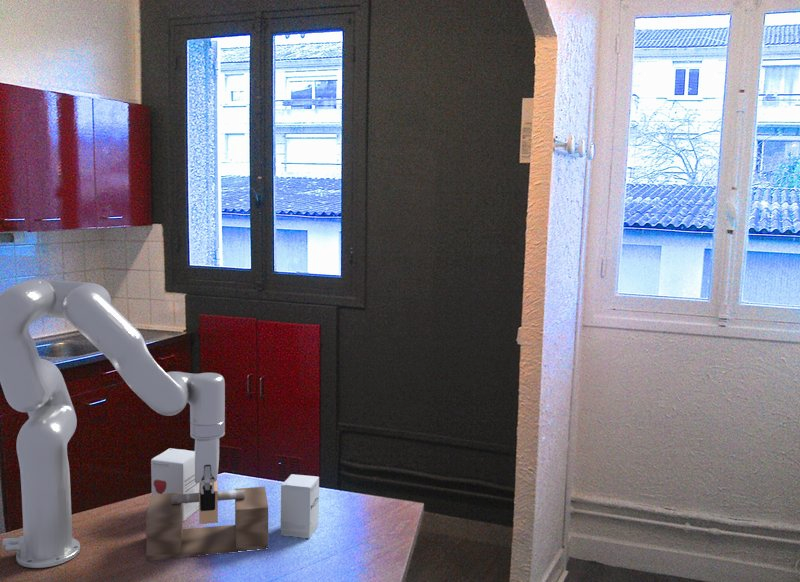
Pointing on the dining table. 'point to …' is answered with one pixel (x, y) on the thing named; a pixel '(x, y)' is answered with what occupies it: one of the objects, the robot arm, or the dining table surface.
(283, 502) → the supplement box
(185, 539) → the rod slider mechanism
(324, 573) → the dining table surface
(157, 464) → the supplement box
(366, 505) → the dining table surface
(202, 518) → the cord clip
